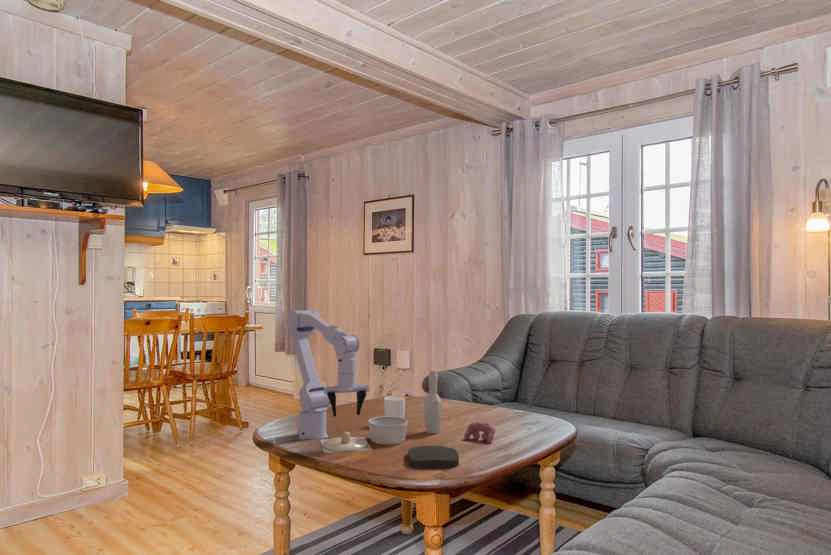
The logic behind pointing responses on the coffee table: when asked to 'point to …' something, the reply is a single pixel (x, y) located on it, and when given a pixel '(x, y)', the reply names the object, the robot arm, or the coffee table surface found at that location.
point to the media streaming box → (433, 457)
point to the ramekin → (387, 430)
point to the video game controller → (480, 426)
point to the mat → (343, 451)
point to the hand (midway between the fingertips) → (346, 415)
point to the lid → (345, 443)
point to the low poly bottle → (432, 405)
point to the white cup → (394, 406)
